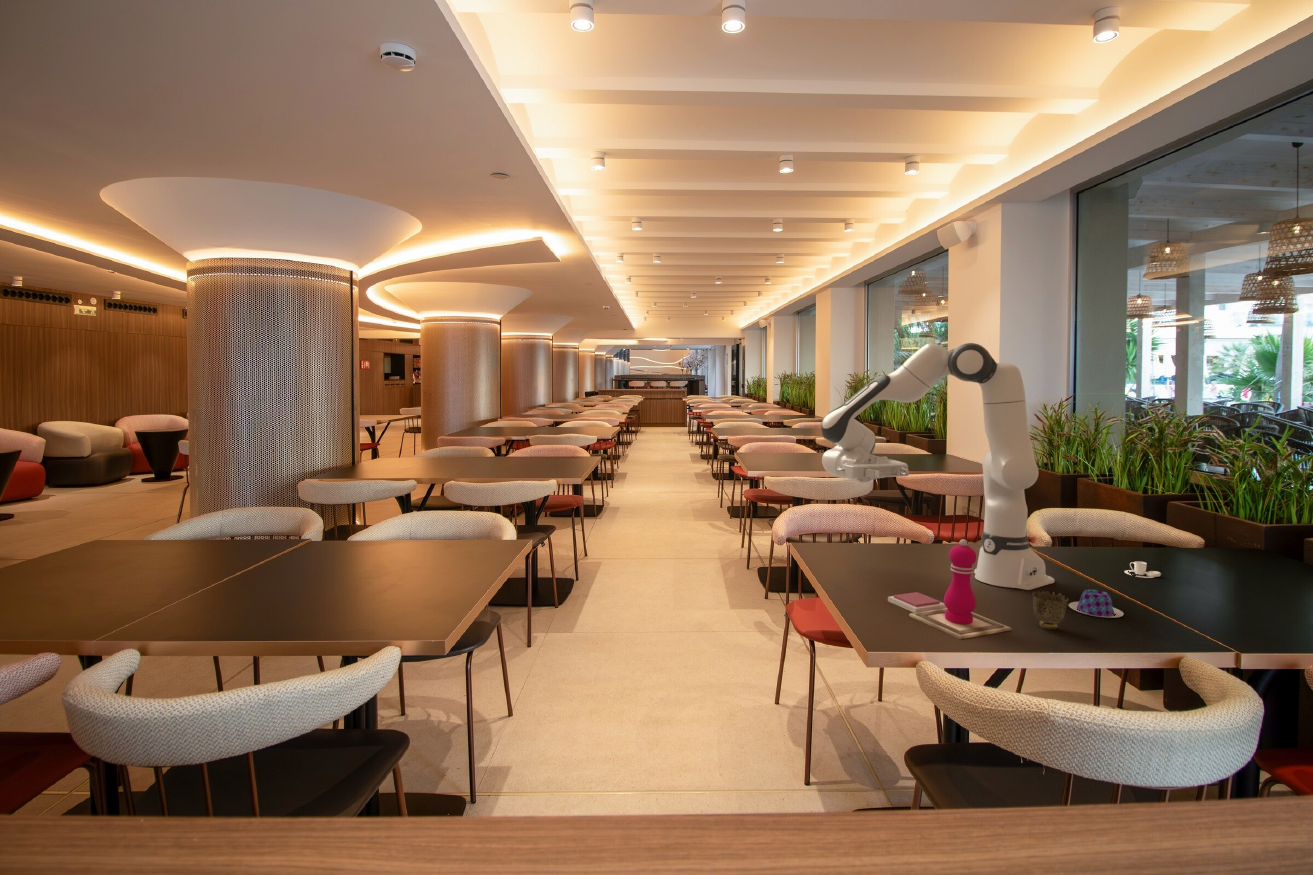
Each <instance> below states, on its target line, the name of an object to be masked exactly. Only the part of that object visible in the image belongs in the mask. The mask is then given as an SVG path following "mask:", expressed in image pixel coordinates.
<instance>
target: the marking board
mask: <svg viewBox="0 0 1313 875" xmlns="http://www.w3.org/2000/svg"><path fill="white" fill-rule="evenodd" d="M946 610H947V607H946V608H944V609H937V610H931V611H924V612H918V613H913V612H911V613H908V617H910V618H912V619H914V620H916V621H919V622H921V623H924V624H925V625H928V626H929V627H932V628H935V629H936V630H939V631H940V632H943V633H945V634H948V635H950V636H952V637H954V638H957V639H958V640H963V638H964V639H969V638H974V637H975V638H976V637H980V636H985V635H991V634H992V635H993V634H997V633H1003V632H1008V631H1012V627H1010V626H1008V625H1005V624H1003V623H1001V622H997V621H996V620H993V619H990V618H987V617H985V616H982V615H980V614H978V613H975V612H973V611H972V612H971V613H972V614H973V622H972V623H971V624H957V623H952V622H950V621H948V620H946V619H945V611H946Z"/></svg>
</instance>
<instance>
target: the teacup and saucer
mask: <svg viewBox="0 0 1313 875" xmlns="http://www.w3.org/2000/svg"><path fill="white" fill-rule="evenodd" d="M1132 564H1134V568H1133V567H1132ZM1147 564H1148V563H1147V562H1145V561H1138V560H1137V561H1134V562H1133V561H1132V562H1130V563H1129V566H1130V569H1131V570H1130V569H1128V570H1127V569H1126V570H1124V573H1125V574H1127V575H1129V576H1132V575H1131V573H1130V572H1133V573H1134V574H1135V575H1136V577H1138V578H1144V579H1145V578H1146V579H1147V578H1148V579H1149V578H1150V579H1152V578H1156V577H1161V575H1162V573H1161V572H1160V571H1155V570H1154V571H1153V570H1150V571H1146V570H1147V566H1148V565H1147ZM1128 571H1129V572H1128ZM1137 574H1138V575H1137ZM1144 575H1146V576H1144Z"/></svg>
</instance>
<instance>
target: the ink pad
mask: <svg viewBox="0 0 1313 875" xmlns="http://www.w3.org/2000/svg"><path fill="white" fill-rule="evenodd" d="M887 602H889V603H891V604H893V605H896V606H897V607H900V608H903V609H905V610H907V611H908V612H911V613H918V612H924V611H931V610H937V609H944V608H947V607H946V606H945V604H944V602H941V601H940V600H938V599H936V598H933V597H931V596H928V595H926V594H923V593H921V592H918V591H914V592H909V593H901V594H893V595H891V596H887Z"/></svg>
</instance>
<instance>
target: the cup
mask: <svg viewBox="0 0 1313 875" xmlns="http://www.w3.org/2000/svg"><path fill="white" fill-rule="evenodd" d="M1031 595H1032V604H1033V605H1032V606H1033V608H1032V609H1033V613H1034V616H1035V617H1036V619H1038V620H1039V626H1040V627H1041V628H1042V629H1045V630H1052V631H1054V630H1056V629H1057V627H1058V624H1059V623H1061V622H1062V621H1063V620H1064V618H1065V616H1066V611H1067V608H1068V604H1069V603H1068V602H1069V598H1068V597H1067V598H1066V596H1065V595H1063V594H1062V593H1057V594H1056V593H1055V591H1054V592H1052V593H1050V592H1049V591H1047V590H1046V592H1045V591H1044V590H1043V591H1041V592H1040V591H1039V590H1038V591H1037V592H1036V591H1033V592H1032V594H1031Z"/></svg>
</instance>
